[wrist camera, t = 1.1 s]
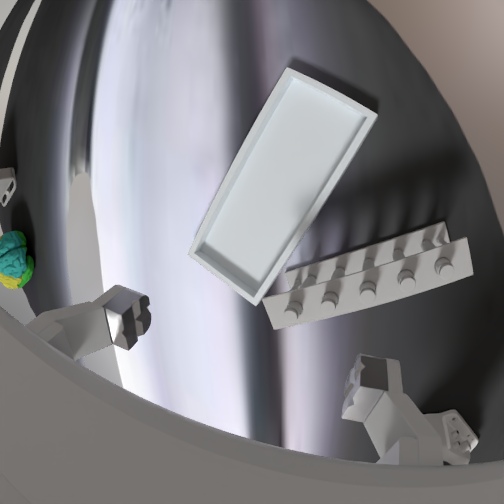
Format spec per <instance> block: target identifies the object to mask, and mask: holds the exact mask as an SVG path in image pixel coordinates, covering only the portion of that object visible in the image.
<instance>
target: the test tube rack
mask: <svg viewBox="0 0 504 504" xmlns="http://www.w3.org/2000/svg"><path fill="white" fill-rule="evenodd" d="M446 258H447V259H448V260H449V261H448V260H447V259H446ZM435 269H436V270H435ZM411 271H412V272H411ZM436 271H437V272H438V273H437V272H436ZM412 273H413V274H412ZM285 275H286V278H287V280H288V283H289V286H290V288H291V290H290V291H288V292H285V293H281V294H277V295H273V296H269V297H265V298H263V299H262V301H263V303H264V306H265V308H266V311H267V313H268V316H269V318H270V321H271V323H272V326H273V328H274V330H275V329H280V328H285V327H290V326H295V325H299V324H304V323H308V322H313V321H317V320H321V319H326V318H330V317H334V316H338V315H342V314H346V313H350V312H354V311H358V310H361V309H365V308H369V307H373V306H376V305H380V304H383V303H387V302H390V301H394V300H397V299H401V298H404V297H407V296H411V295H414V294H417V293H420V292H423V291H427V290H430V289H433V288H436V287H439V286H442V285H445V284H448V283H451V282H454V281H457V280H459V279H462V278H465V277H468V276H471V275H473V268H472V262H471V256H470V251H469V246H468V241H467V237H464V238H461V239H458V240H455V241H452V242H450V241H449V237H448V232H447V228H446V224H445V222H444V221H443V222H440V223H437V224H434V225H431V226H428V227H425V228H422V229H419V230H416V231H413V232H410V233H407V234H404V235H401V236H398V237H395V238H392V239H389V240H386V241H383V242H380V243H376V244H373V245H370V246H367V247H364V248H361V249H358V250H354V251H351V252H348V253H345V254H342V255H338V256H335V257H332V258H329V259H326V260H322V261H319V262H316V263H312V264H309V265H306V266H302V267H299V268H296V269H292V270H289V271H286V272H285ZM398 280H399V281H398ZM360 285H361V287H360ZM375 286H376V287H375ZM323 295H324V297H323ZM338 299H339V301H338ZM288 304H289V305H288ZM302 310H303V311H302Z"/></svg>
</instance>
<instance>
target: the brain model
mask: <svg viewBox="0 0 504 504" xmlns="http://www.w3.org/2000/svg"><path fill="white" fill-rule="evenodd" d="M26 242H27V241H26V238H25V236H24V234H23V233H22V232H20V231H11V232H7V233H5V234H3V235H2V236H1V237H0V282H2V284H3V285H4V286H6V287H7V288H11V289H15V288H21V287H23V286H24V284H25V283H27V282H28V281H29V280H30V278H31V276H32V273H33V270H34V261H33V258H32V257H31V256H29V255H28V256H26V251H27V247H26Z"/></svg>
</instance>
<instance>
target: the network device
mask: <svg viewBox="0 0 504 504" xmlns="http://www.w3.org/2000/svg"><path fill="white" fill-rule="evenodd" d="M12 180H13V182H14V187H13V189H12V191H11V192H10V188H9V186H10V184H11V182H12ZM15 189H16V178H15V172H14V168H3V169H0V202H2V205H3V206H6V204H7V202H8V201H9V199H10V198H11V196H12V194H13V193H14V191H15ZM4 194H6V195H7V199H6V201H5V203H4V201H3V196H4Z"/></svg>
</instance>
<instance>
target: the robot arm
mask: <svg viewBox="0 0 504 504" xmlns="http://www.w3.org/2000/svg"><path fill="white" fill-rule="evenodd" d="M149 305H150V303H149V297H148V296H146V295H144V294H142V293H139V292H136V291H134V290H131V289H129V288H126V287H123V286H121V285H115V286H113V287H112V288H111V289H109V290H108V291H107V292H105V293H104V294H103V295H101V296H100V297H99V298H97V299H96V300H95V301H94V302H86V303H81V304H77V305H73V306H68V307H64V308H60V309H55V310H51V311H47V312H43V313H42V314H40V315H39V316H38V317H36V318H35V319H34V320H32V321H31V322H30V323H28V324H27V325H26V326H24V325H23V324H21V323H20V322H19V321H18V320H16V319H15V318H14V317H13V316H11V315H10V314H9V313H8V312H6V311H5V310H4V309H3V308H2V307H1V306H0V504H504V460H501V461H494V462H486V463H476V464H468V463H469V460H470V452H471V451H472V450H473V449H474V448H475V446H476V445H477V443H478V437H477V436H476V435H475V433H474V432H473V431H472V429H471V428H470V427H469V426H468V424H467V423H466V422H465V420H464V419H463V418H462V417H461V415H460V414H459V413H458V412H457V411H456V410H454V409H453V410H448V411H445V412H442V413H437V414H422V413H421V412H420V410H419V409H418V408H417V407H416V405H415V404H414V403H413V402H412V400H411V399H410V398H409V397H408V395H407V394H403V389H402V379H401V371H400V363H399V361H398V360H393V359H387V358H385V359H384V358H379V357H374V356H368V355H363V354H359V355H358V356H357V358H356V360H355V368H354V369H352V370H351V371H350V373H349V376H348V378H347V382H346V385H345V392H344V395H345V396H346V399H345V401H344V403H343V410H342V418H344V419H349V420H354V421H359V422H364V423H363V424H364V426H365V428H366V430H367V432H368V434H369V436H370V438H371V440H372V442H373V444H374V446H375V448H376V450H377V452H378V454H379V456H380V458H381V459H380V460H379V461H378V462H377V463H366V462H358V461H350V460H342V459H336V458H330V457H324V456H318V455H313V454H308V453H303V452H298V451H294V450H289V449H285V448H281V447H277V446H273V445H269V444H265V443H261V442H258V441H254V440H251V439H247V438H244V437H241V436H238V435H234V434H231V433H228V432H225V431H222V430H219V429H216V428H214V427H211V426H208V425H205V424H202V423H200V422H197V421H195V420H192V419H189V418H187V417H184V416H182V415H179V414H177V413H175V412H172V411H170V410H168V409H165V408H163V407H161V406H159V405H156V404H154V403H152V402H150V401H148V400H146V399H143V398H141V397H139V396H137V395H135V394H133V393H131V392H129V391H127V390H125V389H123V388H122V387H120V386H118V385H116V384H114V383H112V382H110V381H109V380H107V379H105V378H103V377H101V376H100V375H98V374H96V373H94V372H93V371H91V370H89V369H88V368H86V367H84V366H83V365H81V364H79V363H78V362H76V360H77V359H79V358H81V357H84V356H86V355H89V354H91V353H93V352H96V351H98V350H100V349H103V348H105V347H108V346H110V345H112V344H114V345H117V346H119V347H121V348H123V349H126V350H128V351H129V350H130V349H131V348H132V347H133V346H134V344H135V343H136V342H137V341H138V336H141V335H144V334H145V333H146V331H147V330H148V328H149V326H150V324H151V313H150V312H149V310H148V308H147V307H148V306H149Z"/></svg>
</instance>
